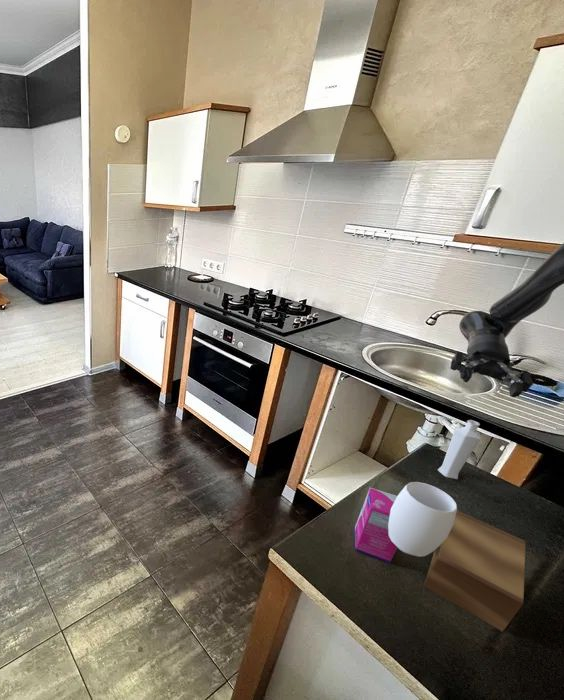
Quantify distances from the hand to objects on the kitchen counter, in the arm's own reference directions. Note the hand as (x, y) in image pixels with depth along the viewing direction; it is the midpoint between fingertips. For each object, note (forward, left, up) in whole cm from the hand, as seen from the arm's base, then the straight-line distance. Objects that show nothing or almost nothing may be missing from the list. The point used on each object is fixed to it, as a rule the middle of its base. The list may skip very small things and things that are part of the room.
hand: (491, 386), depth 87 cm
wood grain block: (+20, +35, -22) cm, 46 cm away
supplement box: (+34, +31, -22) cm, 51 cm away
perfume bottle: (+5, +6, -22) cm, 23 cm away
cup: (+35, +39, -22) cm, 57 cm away
